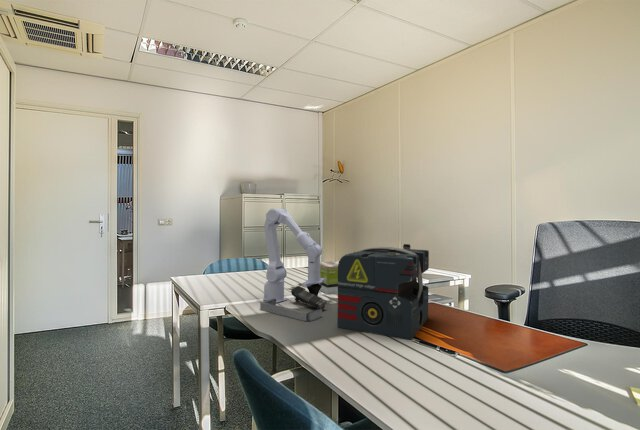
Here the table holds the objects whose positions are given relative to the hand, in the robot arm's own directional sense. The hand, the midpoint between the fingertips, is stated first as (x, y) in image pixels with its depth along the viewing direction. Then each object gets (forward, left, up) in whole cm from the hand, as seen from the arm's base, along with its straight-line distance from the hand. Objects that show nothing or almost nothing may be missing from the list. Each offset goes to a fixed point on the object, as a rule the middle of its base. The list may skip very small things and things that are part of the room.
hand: (314, 300), depth 166 cm
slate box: (0, -16, -2) cm, 16 cm away
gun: (0, -2, -2) cm, 3 cm away
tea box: (-11, +27, -2) cm, 29 cm away
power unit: (+38, -3, -2) cm, 38 cm away
